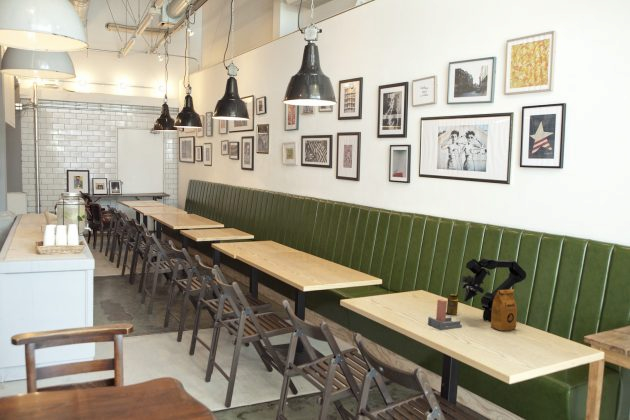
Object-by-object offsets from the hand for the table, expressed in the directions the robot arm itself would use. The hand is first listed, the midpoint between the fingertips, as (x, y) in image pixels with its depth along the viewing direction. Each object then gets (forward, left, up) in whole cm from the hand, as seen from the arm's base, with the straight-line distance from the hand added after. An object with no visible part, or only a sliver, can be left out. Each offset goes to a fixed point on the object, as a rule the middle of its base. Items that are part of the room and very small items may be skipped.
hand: (464, 301), depth 298 cm
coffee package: (-21, +1, -12) cm, 25 cm away
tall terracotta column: (+11, +15, -11) cm, 21 cm away
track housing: (+9, +13, -12) cm, 19 cm away
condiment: (+9, -13, -12) cm, 20 cm away
